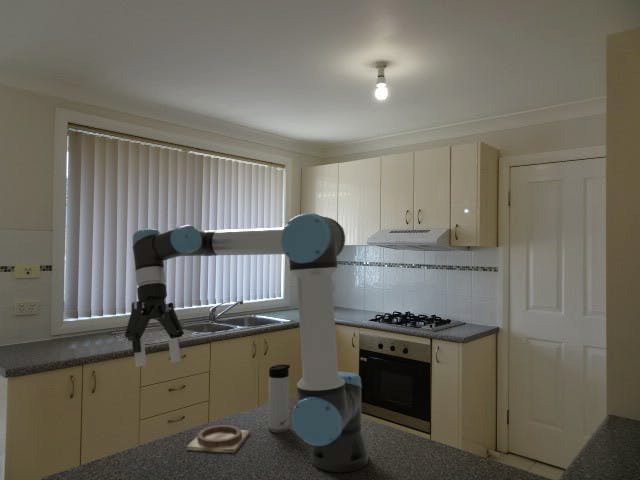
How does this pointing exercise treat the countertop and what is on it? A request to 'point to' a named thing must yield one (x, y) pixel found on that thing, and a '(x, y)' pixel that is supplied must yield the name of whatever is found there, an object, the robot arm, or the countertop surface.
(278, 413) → the travel mug
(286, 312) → the countertop surface
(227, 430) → the mug stand
